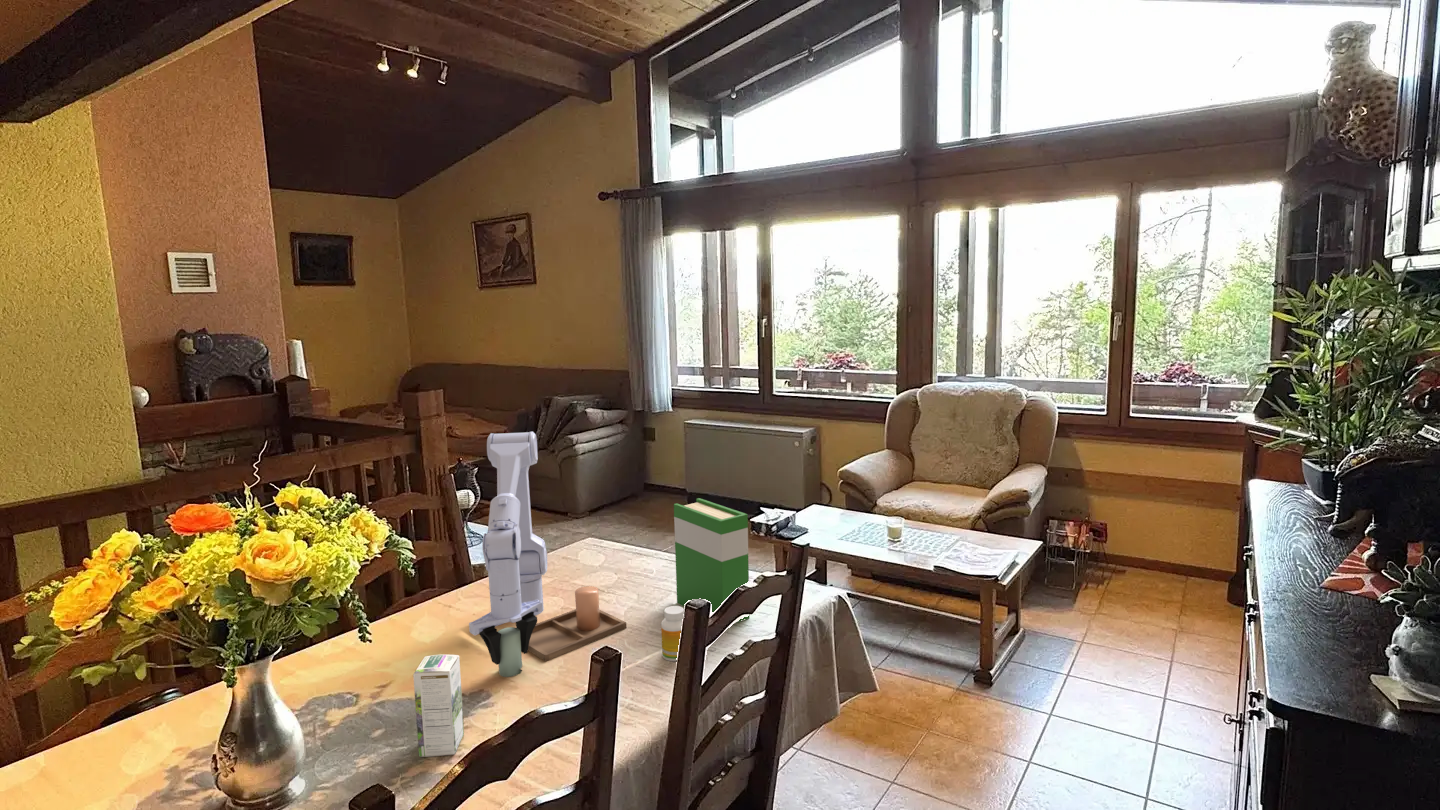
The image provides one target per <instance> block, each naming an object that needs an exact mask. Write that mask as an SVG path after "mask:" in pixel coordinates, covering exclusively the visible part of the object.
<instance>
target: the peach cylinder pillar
mask: <svg viewBox="0 0 1440 810" xmlns="http://www.w3.org/2000/svg"><path fill="white" fill-rule="evenodd" d="M574 598H575V599H574V600H575V609H576V619H577V628H578V629H579V630H582V631H590V630H594V629H597V628H598V627H599V626H600V612H599V610H600V597H599V588H598V587H596V586H592V585H591V586H590V585H589V586H588V585H587V586H581V587H579V588H577V589H575V590H574Z"/></svg>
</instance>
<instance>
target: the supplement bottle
mask: <svg viewBox="0 0 1440 810" xmlns="http://www.w3.org/2000/svg"><path fill="white" fill-rule="evenodd" d="M683 614H684V615H685V609H684V607H682V606H681V605H680V606H679V605H669V606H667V607H665V608H664V610H663V617H664V618H663V619H662V620H661V624H660V626H661V627H660V628H661V655H662V658H663V659H665V660H667V662H668V661H669V662H677V661H676V658H677V652H678V645H679V639H680V633H681V626H682V619H683Z"/></svg>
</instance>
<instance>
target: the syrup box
mask: <svg viewBox="0 0 1440 810" xmlns="http://www.w3.org/2000/svg"><path fill="white" fill-rule="evenodd" d="M460 661H461V660H460V655H458V654H433V655H425V656H424V657H423V659H422V660H421V662H420V664H419V665H418V666H417V668H416V670H415V671H414V672H413V675H412V676H413V688H414V690H413V691H414V701H415V702H414V703H415V717H416V718H415V719H416V720H415V721H416V731H417V732H416V733H417V745H418V756H419V757H420V758H425V757H427V758H428V757H441V756H452V755H456V753H457V751H458V749H459V746H460V744H461V742H462V739H463V737H464V735H465V727H464V711H463V694H462V680H461V679H462V678H461V677H462V676H461V665H460V663H461V662H460Z"/></svg>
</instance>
